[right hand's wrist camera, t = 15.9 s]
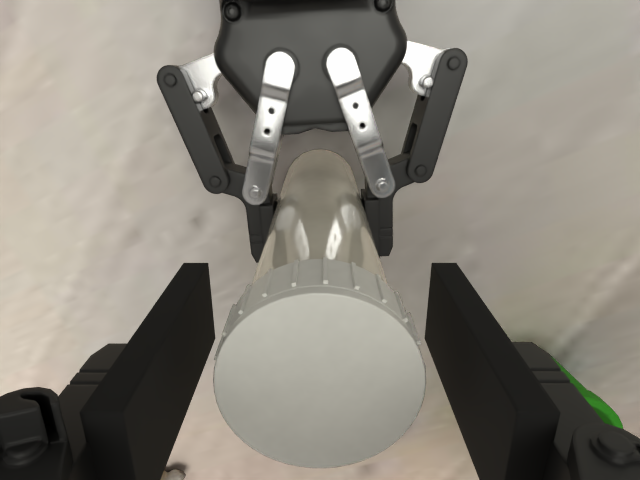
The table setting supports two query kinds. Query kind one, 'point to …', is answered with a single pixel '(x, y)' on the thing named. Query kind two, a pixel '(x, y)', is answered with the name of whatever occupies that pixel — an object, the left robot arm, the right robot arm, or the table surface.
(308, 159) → the beige long cylinder
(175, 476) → the syringe
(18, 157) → the table surface
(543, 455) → the right robot arm
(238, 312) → the lid
